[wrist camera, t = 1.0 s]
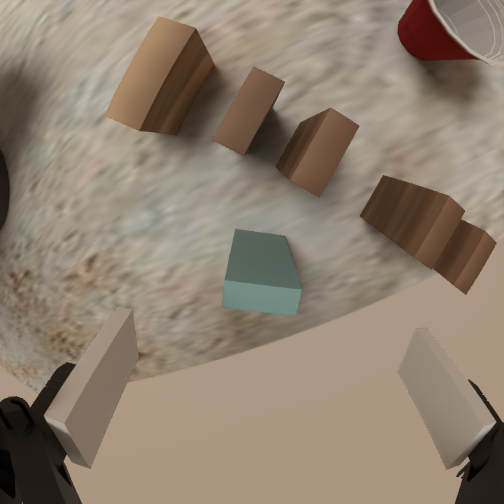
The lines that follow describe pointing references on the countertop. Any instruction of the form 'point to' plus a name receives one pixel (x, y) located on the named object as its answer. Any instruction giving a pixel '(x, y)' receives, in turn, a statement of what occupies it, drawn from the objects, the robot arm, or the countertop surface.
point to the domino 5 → (464, 255)
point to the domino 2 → (261, 275)
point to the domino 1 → (248, 111)
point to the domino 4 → (413, 217)
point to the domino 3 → (317, 150)
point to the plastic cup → (454, 30)
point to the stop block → (162, 79)
